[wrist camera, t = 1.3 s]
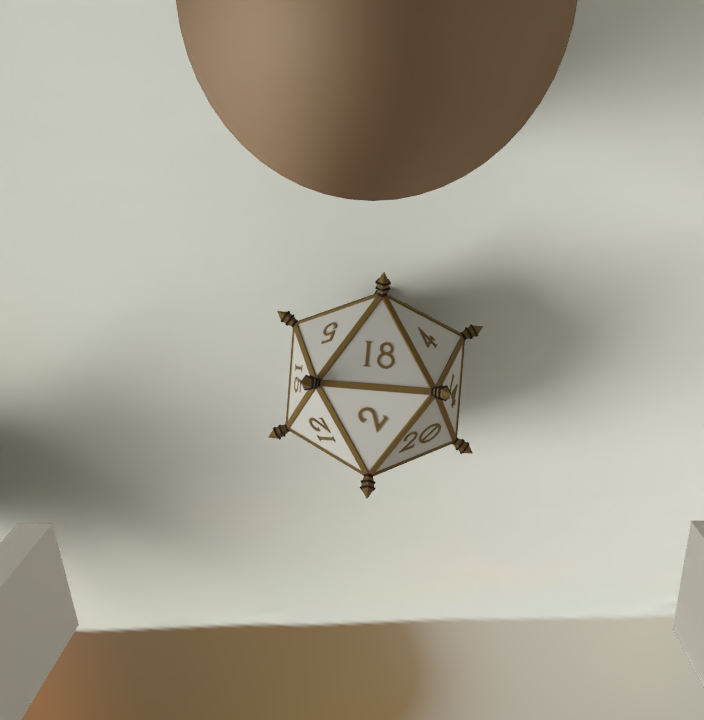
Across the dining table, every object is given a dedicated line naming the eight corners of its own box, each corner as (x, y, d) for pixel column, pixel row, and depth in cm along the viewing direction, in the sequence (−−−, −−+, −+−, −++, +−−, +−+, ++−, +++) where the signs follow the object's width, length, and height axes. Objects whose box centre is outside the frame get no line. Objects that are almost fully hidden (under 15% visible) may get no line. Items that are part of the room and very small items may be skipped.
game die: (402, 295, 33) (552, 286, 25) (390, 459, 33) (534, 508, 25) (237, 273, 29) (349, 253, 20) (223, 463, 29) (329, 526, 20)
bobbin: (272, 160, 27) (194, 200, 16) (261, -92, 24) (152, -257, 13) (485, 160, 27) (555, 201, 16) (504, -96, 24) (608, -272, 12)
